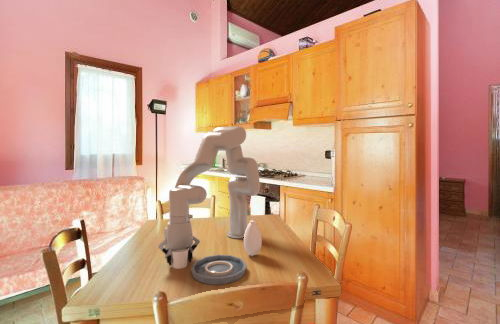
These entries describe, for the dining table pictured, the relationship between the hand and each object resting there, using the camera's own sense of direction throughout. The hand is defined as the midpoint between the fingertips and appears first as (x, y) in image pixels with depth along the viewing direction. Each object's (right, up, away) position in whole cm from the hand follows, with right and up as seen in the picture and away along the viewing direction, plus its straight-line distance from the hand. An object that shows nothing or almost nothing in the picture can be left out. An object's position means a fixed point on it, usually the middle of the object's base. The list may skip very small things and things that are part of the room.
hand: (179, 262), depth 108 cm
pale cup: (0, -2, 0) cm, 2 cm away
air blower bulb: (+29, -1, +10) cm, 31 cm away
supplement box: (-4, -1, +11) cm, 12 cm away
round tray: (+16, -2, -5) cm, 17 cm away
